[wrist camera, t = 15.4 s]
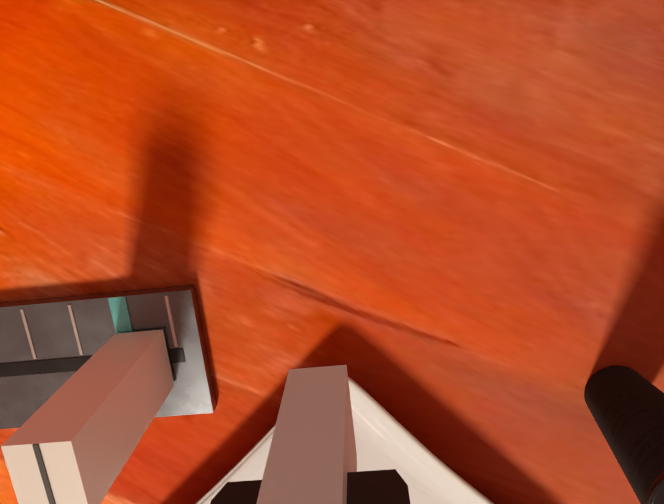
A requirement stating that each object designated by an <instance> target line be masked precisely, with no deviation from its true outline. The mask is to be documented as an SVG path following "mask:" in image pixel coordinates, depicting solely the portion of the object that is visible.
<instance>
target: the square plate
mask: <svg viewBox="0 0 664 504" xmlns="http://www.w3.org/2000/svg"><path fill="white" fill-rule="evenodd" d="M348 381H349V390H350V399H351V408H352V417H353V426H354V434H355V443H356V452H357V472H360V471H374V470H389V469H396V471H397V472H398V473H399V474H400V476H401V477H402V478H403V480H404V481H405V482H406V484H407V485H408V490H409V498H410V504H494V503H493V502H491V501H490V500H489V499H487V498H486V497H485V496H484V495H482V494H481V493H480V492H479V491H477V490H476V489H475V488H473V487H472V486H471V485H470V484H468V483H467V482H466V481H465V480H463V479H462V478H461V477H460V476H458V475H457V474H456V473H455V472H454V471H452V470H451V469H450V468H449V467H448V466H447V465H445V464H444V463H443V462H442V461H441V460H440V459H438V458H437V457H436V456H435V455H434V454H433V453H432V452H430V451H429V450H428V449H427V448H426V447H425V446H424V445H423V444H422V443H421V442H419V441H418V440H417V439H416V438H415V437H414V436H413V435H412V434H411V433H410V432H409V431H408V430H406V429H405V428H404V427H403V426H402V425H401V424H400V423H399V422H398V421H397V420H396V419H395V418H394V417H393V416H391V415H390V414H389V413H388V412H387V411H386V410H385V409H384V408H383V407H382V406H381V405H380V404H379V403H378V402H377V401H376V400H375V399H374V398H372V397H371V396H370V395H369V394H368V393H367V392H366V391H365V390H364V389H363V388H361V387H360V386H359V385H358V384H357V383H356V382H354V381H353V380H352V379H351V378H349V377H348ZM275 425H276V424H275ZM275 425H274V426H273V427H272V428H271V429H270V430H269V432H268V433H267V434H266V435H265V436H264V437H263V438H262V439H261V440H260V441H259V442H258V443H257V444H256V445H255V446H254V447H253V448H252V449H251V450H250V451H249V452H248V453H247V454H246V455H245V456H244V457H243V458H242V459H241V460H240V461H239V462H238V463H237V465H236V466H235V467H233V468H232V469H231V470H230V471H229V472H228V473H227V474H226V475H225V476H224V477H223V478H222V479H221V480H220V481H219V482H218V483H217V484H216V485H215V486H214V487H213V488H212V489H211V490H209V491H208V492H207V493H206V494H205V495H204V496H203V497H202V498H201V499H200V500H199V501H198V502H197V503H195V504H210V503H211V500H212V499H213V498H214V497H215V495H216V494H217V493H218V492H219V491H220V490H221V489H222V487H223V486H224V485H225V484H226V483H227V482H236V481H251V480H262V478H263V474H264V470H265V466H266V462H267V458H268V454H269V450H270V445H271V441H272V437H273V433H274V429H275Z"/></svg>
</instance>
